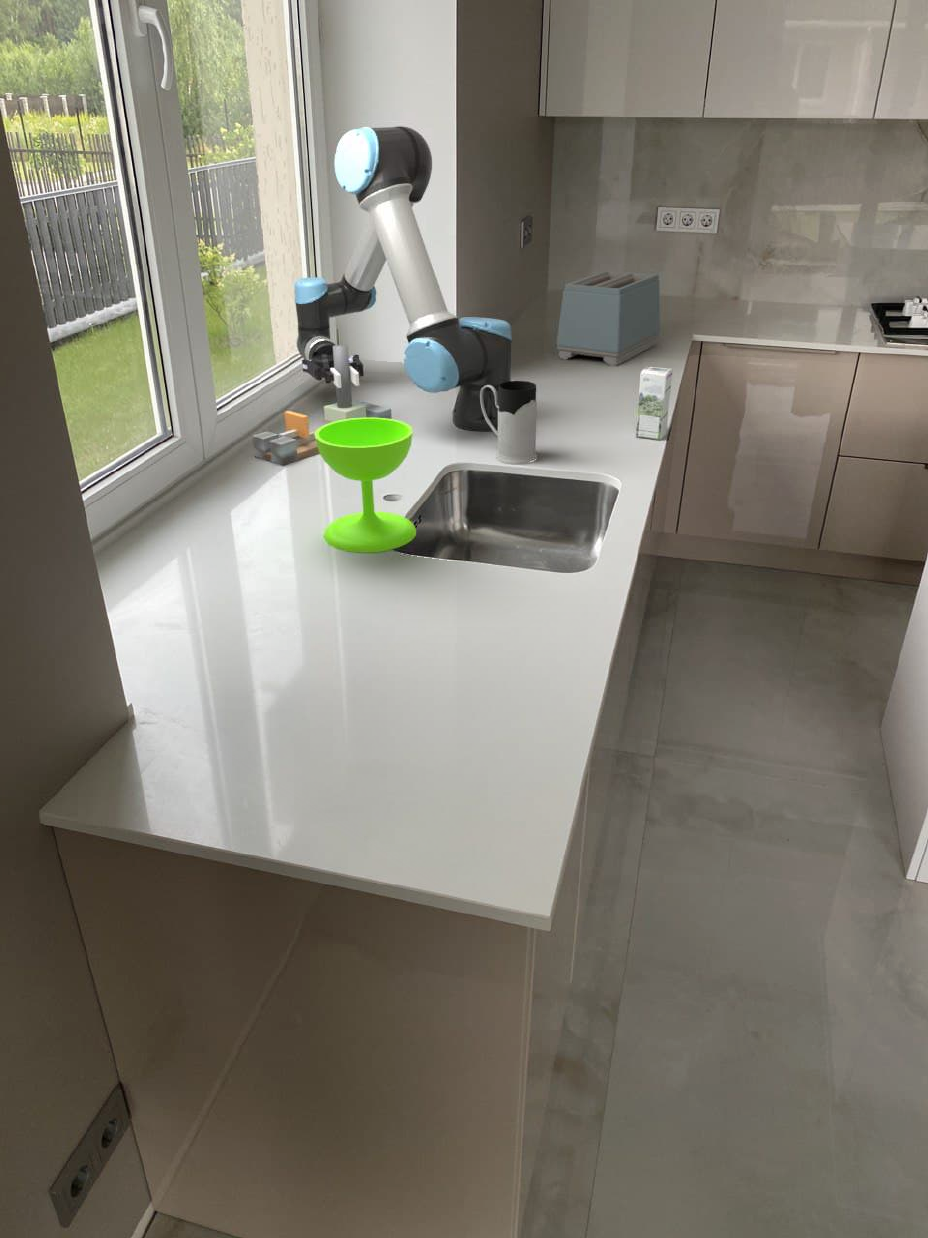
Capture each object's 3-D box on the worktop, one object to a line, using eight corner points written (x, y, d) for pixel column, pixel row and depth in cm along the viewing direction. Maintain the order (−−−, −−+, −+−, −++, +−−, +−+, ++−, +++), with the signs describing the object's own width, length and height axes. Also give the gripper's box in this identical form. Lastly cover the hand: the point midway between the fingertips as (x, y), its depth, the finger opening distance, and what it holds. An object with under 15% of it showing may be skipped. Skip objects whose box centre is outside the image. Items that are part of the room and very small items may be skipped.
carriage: (366, 419, 210) (361, 345, 202) (346, 425, 206) (341, 351, 198) (344, 413, 214) (339, 341, 206) (324, 419, 210) (318, 346, 202)
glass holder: (519, 467, 192) (520, 393, 184) (467, 452, 200) (466, 381, 193) (546, 456, 197) (548, 384, 190) (494, 442, 206) (494, 373, 198)
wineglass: (312, 524, 167) (303, 424, 158) (398, 509, 173) (393, 412, 164) (338, 559, 154) (330, 453, 146) (430, 542, 160) (427, 439, 151)
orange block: (309, 436, 199) (307, 415, 197) (290, 443, 196) (288, 421, 194) (290, 431, 203) (288, 410, 200) (271, 437, 199) (269, 416, 197)
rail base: (391, 428, 215) (390, 408, 213) (282, 465, 194) (280, 444, 192) (364, 420, 220) (362, 401, 218) (254, 456, 199) (252, 435, 197)
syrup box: (667, 433, 210) (673, 367, 203) (660, 441, 205) (666, 374, 198) (642, 430, 212) (647, 365, 205) (634, 437, 207) (639, 371, 200)
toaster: (663, 342, 287) (670, 272, 277) (617, 367, 262) (622, 290, 252) (605, 336, 296) (609, 267, 286) (555, 359, 270) (557, 284, 261)
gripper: (359, 369, 224) (386, 394, 205) (290, 375, 219) (311, 402, 200) (357, 336, 220) (384, 358, 201) (287, 342, 216) (308, 366, 196)
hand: (348, 380), depth 200 cm, fingers closed on carriage, 3 cm apart
